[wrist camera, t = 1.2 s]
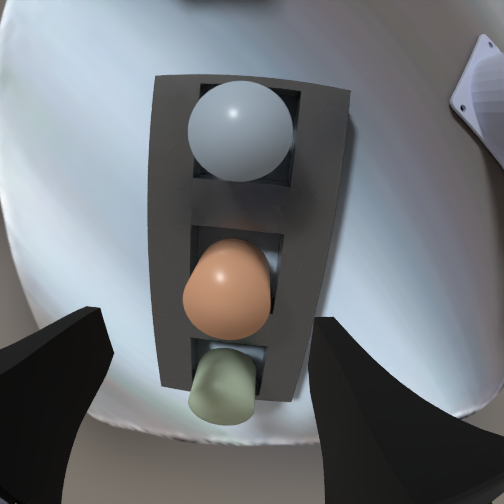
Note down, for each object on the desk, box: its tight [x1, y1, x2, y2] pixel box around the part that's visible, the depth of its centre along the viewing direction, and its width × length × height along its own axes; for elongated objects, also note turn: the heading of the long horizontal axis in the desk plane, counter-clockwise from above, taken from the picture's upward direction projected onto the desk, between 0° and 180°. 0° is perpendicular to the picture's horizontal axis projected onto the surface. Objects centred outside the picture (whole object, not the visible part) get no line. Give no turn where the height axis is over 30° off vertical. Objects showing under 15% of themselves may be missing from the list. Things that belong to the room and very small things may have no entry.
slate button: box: [188, 81, 293, 182], centre depth 12 cm, size 4×4×4 cm
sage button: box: [188, 348, 256, 425], centre depth 18 cm, size 4×4×4 cm
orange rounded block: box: [183, 238, 271, 340], centre depth 15 cm, size 4×4×4 cm
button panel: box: [148, 74, 351, 402], centre depth 17 cm, size 21×10×2 cm, turn 175°
